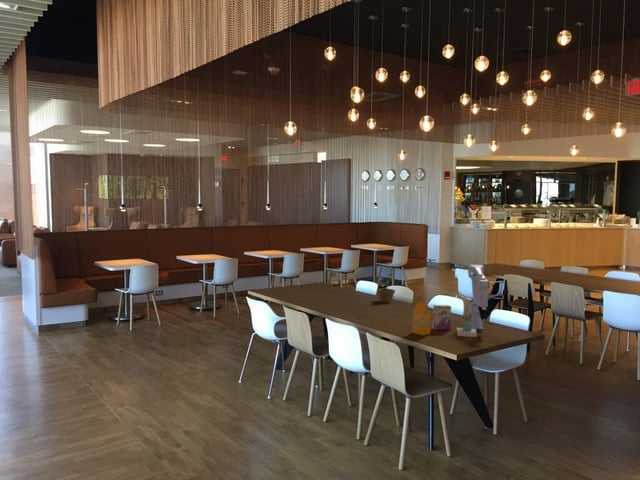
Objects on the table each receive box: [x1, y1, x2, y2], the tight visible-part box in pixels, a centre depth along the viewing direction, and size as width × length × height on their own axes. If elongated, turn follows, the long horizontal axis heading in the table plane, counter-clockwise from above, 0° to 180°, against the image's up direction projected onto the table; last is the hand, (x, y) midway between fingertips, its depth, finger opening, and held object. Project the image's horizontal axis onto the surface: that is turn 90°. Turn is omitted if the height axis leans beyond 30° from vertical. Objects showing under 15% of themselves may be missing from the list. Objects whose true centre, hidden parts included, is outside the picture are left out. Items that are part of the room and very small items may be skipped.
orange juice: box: [412, 302, 432, 336], centre depth 342 cm, size 8×9×20 cm
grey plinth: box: [456, 327, 478, 338], centre depth 342 cm, size 12×12×3 cm
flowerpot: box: [377, 267, 396, 304], centre depth 446 cm, size 14×14×30 cm
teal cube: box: [462, 321, 472, 332], centre depth 342 cm, size 5×5×5 cm
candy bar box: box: [431, 304, 452, 331], centre depth 353 cm, size 11×5×16 cm, turn 92°
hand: (482, 318), depth 345 cm, fingers open, 7 cm apart
